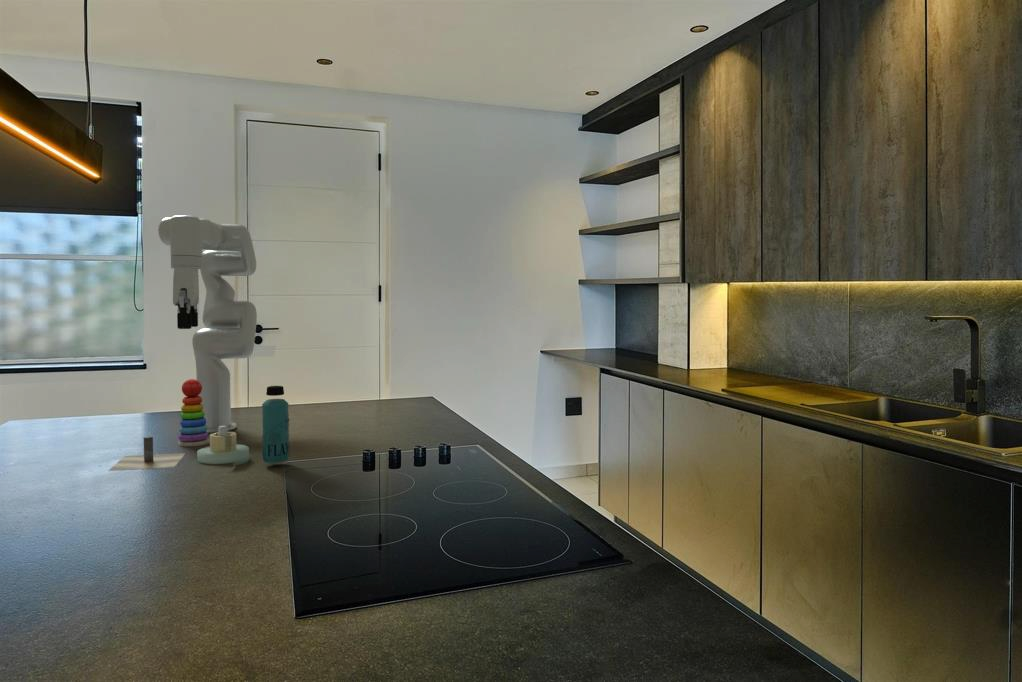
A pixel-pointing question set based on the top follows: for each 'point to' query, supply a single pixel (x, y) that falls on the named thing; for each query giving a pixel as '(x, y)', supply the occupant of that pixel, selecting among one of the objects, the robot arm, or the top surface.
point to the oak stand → (147, 459)
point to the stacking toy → (192, 416)
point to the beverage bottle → (275, 427)
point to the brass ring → (222, 442)
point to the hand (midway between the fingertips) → (188, 327)
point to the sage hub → (224, 453)
